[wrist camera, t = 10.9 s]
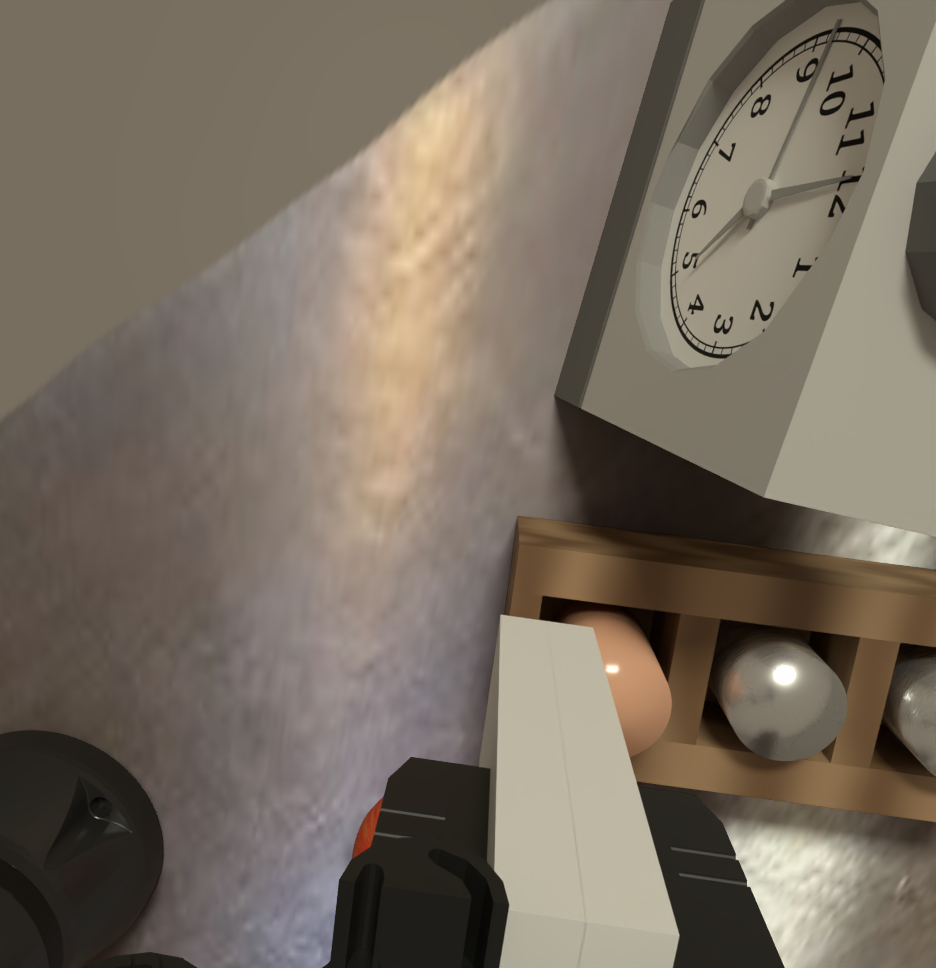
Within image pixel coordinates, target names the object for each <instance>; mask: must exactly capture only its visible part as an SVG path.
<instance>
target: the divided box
mask: <svg viewBox="0 0 936 968" xmlns="http://www.w3.org/2000/svg"><path fill="white" fill-rule="evenodd" d="M575 600H581V601H588V602H596V603H603V604H611V605H619V606H626V607H627V608H628V609H630V610H631V611H632V612H633V613H634V614H635V616H636V617H637V618H638V620H639V621H640V623H641V625H642V627H643V630H644V632H645V634H646V636H647V638H648V641H649V643H650V645H651V647H652V650H653V652H654V654H655V656H656V658H657V661H658V663H659V665H660V667H661V670H662V672H663V674H664V676H665V678H666V681H667V683H668V686H669V689H670V692H671V698H672V708H671V715H670V719H669V722H668V724H667V726H666V728H665V730H664V732H663V733H662V735H661V736H660V737H659V738H658V740H657V741H656V742H655V743H654V744H653V745H651V746H650V747H649V748H647V749H646V750H644V751H642V752H641V753H639V754H636V755H634V756H631V757H630V761H631V764H632V768H633V772H634V775H635V779H636V781H637V782H645V783H652V784H659V785H667V786H674V787H682V788H689V789H696V790H704V791H711V792H718V793H726V794H733V795H740V796H748V797H755V798H762V799H770V800H777V801H784V802H792V803H799V804H806V805H814V806H821V807H828V808H836V809H843V810H851V811H858V812H865V813H873V814H880V815H887V816H895V817H902V818H909V819H917V820H924V821H931V822H936V776H934V775H933V774H932V773H931V772H930V771H928V770H927V769H926V767H925V766H924V765H923V764H922V763H921V762H920V761H919V760H918V759H917V758H916V757H915V756H914V755H913V754H912V753H911V752H910V751H909V749H908V748H907V747H906V746H905V745H904V744H903V743H902V742H901V741H900V740H899V739H898V738H897V737H896V736H895V735H894V734H893V733H892V731H891V730H890V729H889V728H888V727H887V726H886V725H885V724H884V723H883V722H882V721H881V719H882V715H883V711H884V707H885V703H886V699H887V695H888V691H889V687H890V683H891V679H892V675H893V671H894V667H895V663H896V659H897V654H898V650H899V646H900V643H908V644H915V645H923V646H931V647H936V570H933V569H925V568H918V567H910V566H902V565H894V564H887V563H879V562H871V561H863V560H856V559H848V558H840V557H833V556H825V555H817V554H809V553H802V552H794V551H786V550H778V549H771V548H763V547H755V546H747V545H740V544H732V543H724V542H717V541H709V540H701V539H693V538H686V537H678V536H670V535H662V534H655V533H647V532H639V531H632V530H624V529H616V528H608V527H601V526H593V525H585V524H577V523H570V522H562V521H554V520H547V519H539V518H531V517H523V516H518V518H517V525H516V533H515V540H514V547H513V554H512V562H511V569H510V576H509V583H508V590H507V598H506V605H505V612H504V615H507V616H514V617H521V618H528V619H535V620H542V621H551V619H552V618H553V617H554V615H555V614H556V613H557V612H558V611H559V610H560V609H562V608H563V607H564V606H566V605H567V604H569V603H571V602H573V601H575ZM721 619H725V620H733V621H740V622H748V623H756V624H763V625H771V626H778V627H786V628H793V629H794V630H795V631H796V632H797V633H798V634H799V635H800V637H801V638H802V639H803V640H804V641H805V642H806V643H807V644H808V645H809V646H810V647H811V648H812V649H813V650H814V651H815V652H816V654H817V655H818V656H819V657H820V658H821V659H822V660H823V661H824V662H825V663H826V664H827V665H828V666H829V667H830V668H831V669H832V671H833V672H834V673H835V674H836V675H837V676H838V678H839V679H840V681H841V682H842V684H843V687H844V689H845V692H846V696H847V714H846V719H845V722H844V724H843V727H842V729H841V731H840V732H839V734H838V735H837V737H836V738H835V739H834V740H833V741H832V742H831V743H830V744H829V745H828V746H827V747H826V748H824V749H823V750H821V751H820V752H818V753H816V754H815V755H812V756H810V757H807V758H804V759H800V760H795V761H777V760H771V759H768V758H765V757H762V756H760V755H758V754H756V753H754V752H753V751H751V750H750V749H749V748H748V747H746V746H745V745H744V744H743V743H742V741H741V740H740V739H739V737H738V736H737V734H736V733H735V731H734V729H733V727H732V725H731V724H730V722H729V720H728V718H727V717H726V715H725V713H724V711H723V709H722V708H721V706H720V704H719V702H718V700H717V699H716V697H715V695H714V693H713V692H712V690H711V688H710V686H709V684H708V681H709V675H710V670H711V665H712V660H713V655H714V650H715V645H716V640H717V635H718V630H719V625H720V620H721Z"/></svg>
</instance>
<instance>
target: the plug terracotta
mask: <svg viewBox="0 0 936 968" xmlns="http://www.w3.org/2000/svg"><path fill="white" fill-rule="evenodd" d="M550 622H557V623H564V624H571V625H578V626H585V627H592V628H593V629H594V632H595V636H596V639H597V643H598V647H599V650H600V654H601V657H602V661H603V664H604V668H605V672H606V675H607V679H608V682H609V686H610V689H611V693H612V697H613V700H614V704H615V707H616V711H617V714H618V718H619V722H620V725H621V729H622V732H623V736H624V739H625V743H626V747H627V750H628V754H629V757H631V756H634V755H636V754H639V753H641V752H642V751H644V750H646V749H647V748H649V747H650V746H651V745H653V744H654V743H655V742H656V741H657V740H658V738H659V737H660V736H661V735H662V733H663V732H664V730H665V728H666V726H667V724H668V722H669V719H670V715H671V708H672V698H671V692H670V689H669V686H668V683H667V681H666V678H665V676H664V674H663V672H662V670H661V667H660V665H659V663H658V661H657V658H656V656H655V654H654V652H653V650H652V647H651V645H650V643H649V641H648V638H647V636H646V634H645V632H644V630H643V627H642V625H641V623H640V621H639V620H638V618H637V617H636V616H635V614H634V613H633V612H632V611H631V610H630V609H628V608H627V607H626V606H619V605H611V604H603V603H596V602H588V601H581V600H575V601H573V602H571V603H569V604H567V605H566V606H564V607H563V608H562V609H560V610H559V611H558V612H557V613H556V614H555V615H554V617H553V618H552V619H551V621H550Z"/></svg>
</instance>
